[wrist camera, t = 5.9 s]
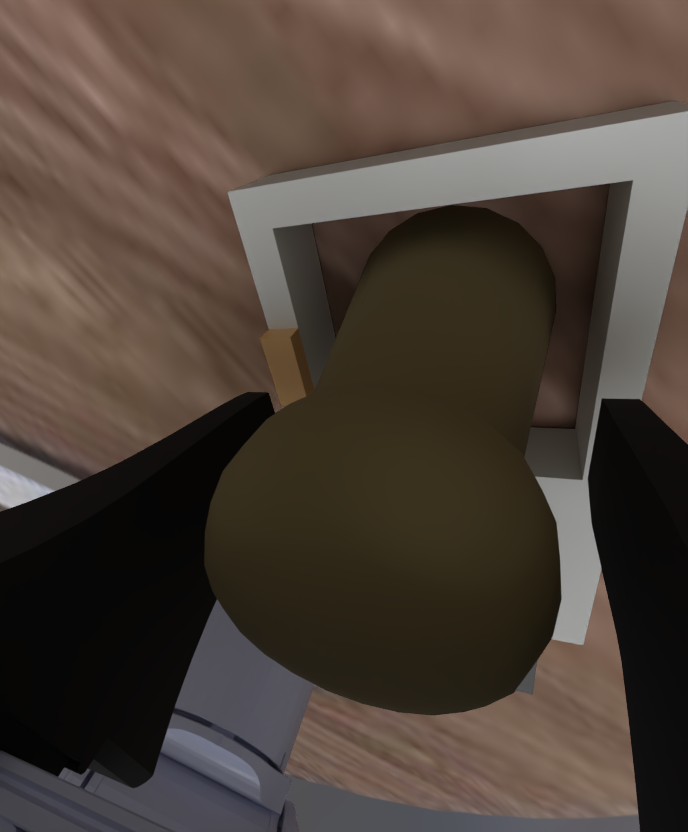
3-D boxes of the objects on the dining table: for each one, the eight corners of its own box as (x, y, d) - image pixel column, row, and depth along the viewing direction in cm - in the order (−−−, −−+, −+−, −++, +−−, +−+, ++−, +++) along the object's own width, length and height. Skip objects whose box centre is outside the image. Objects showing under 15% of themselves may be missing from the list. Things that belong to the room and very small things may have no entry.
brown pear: (327, 251, 14) (40, 510, 6) (530, 164, 11) (553, 440, 3) (397, 404, 17) (271, 732, 8) (574, 368, 14) (654, 820, 5)
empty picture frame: (364, 556, 23) (322, 681, 18) (270, 175, 13) (125, 232, 8) (577, 590, 19) (594, 755, 15) (673, 100, 9) (825, 125, 5)
